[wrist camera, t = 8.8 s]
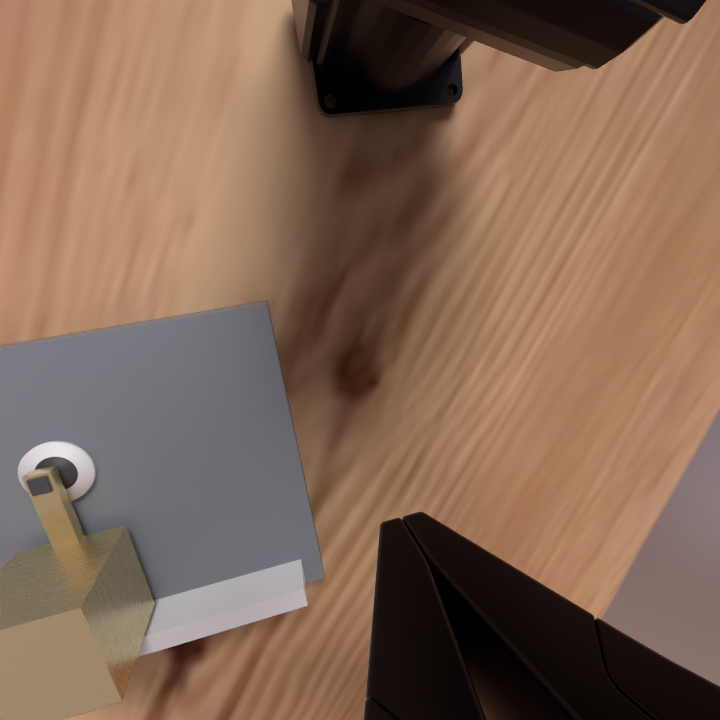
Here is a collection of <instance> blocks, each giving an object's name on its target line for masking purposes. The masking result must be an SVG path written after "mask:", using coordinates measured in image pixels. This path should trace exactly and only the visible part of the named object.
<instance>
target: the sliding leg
mask: <svg viewBox="0 0 720 720" xmlns="http://www.w3.org/2000/svg"><path fill="white" fill-rule="evenodd" d="M22 480H23V482H24V484H25V486H26V489H27V491H28V493H29V495H30V498H31V500H32V502H33V504H34V507H35V509H36V511H37V513H38V516H39V518H40V520H41V522H42V525H43V527H44V529H45V531H46V534H47V536H48V538H49V540H50V543H51V544H47V545H43V546H39V547H35V548H31V549H27V550H23V551H19V552H16V553H15V554H14V555H13V556H12V558H11V559H10V560H9V561H8V562H7V563H6V565H5V566H4V567H3V568H2V569H1V570H0V720H64V719H67V718H71V717H74V716H77V715H80V714H83V713H86V712H89V711H93V710H96V709H99V708H102V707H105V706H108V705H111V704H115V703H118V702H121V701H122V700H123V697H124V694H125V691H126V688H127V685H128V682H129V679H130V676H131V673H132V670H133V667H134V664H135V661H136V658H137V655H138V652H139V649H140V646H141V643H142V640H143V637H144V634H145V631H146V628H147V625H148V622H149V619H150V616H151V613H152V610H153V607H154V604H155V602H154V600H153V597H152V594H151V592H150V589H149V586H148V584H147V581H146V578H145V575H144V573H143V570H142V567H141V565H140V562H139V559H138V557H137V554H136V551H135V549H134V546H133V543H132V541H131V538H130V535H129V533H128V530H127V527H126V525H124V526H120V527H116V528H112V529H108V530H104V531H99V532H95V533H91V534H87V535H84V533H83V531H82V528H81V526H80V523H79V521H78V518H77V516H76V514H75V511H74V509H73V506H72V504H71V501H70V499H69V497H68V494H67V492H66V489H65V487H64V484H63V482H62V480H61V477H60V475H59V472H58V470H57V467H56V466H51V467H47V468H42V469H38V470H33V471H29V472H28V473H27V474H26V475H24V476H23V477H22Z"/></svg>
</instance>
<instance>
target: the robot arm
mask: <svg viewBox="0 0 720 720" xmlns="http://www.w3.org/2000/svg"><path fill="white" fill-rule="evenodd" d="M705 1H706V0H292V6H293V13H294V19H295V25H296V32H297V38H298V44H299V50H300V56H301V57H302V58H303V59H304V60H305V61H306V62H311V67H312V74H313V80H314V87H315V93H316V100H317V106H318V109H319V111H320V112H321V114H322V115H324V116H325V117H330V118H331V117H342V116H352V115H363V114H373V113H384V112H394V111H404V110H415V109H425V108H436V107H446V106H451V105H454V104H455V103H456V102H457V101H458V100H459V99H460V98H461V96H462V91H463V86H462V70H461V54H462V53H463V52H464V51H465V50H466V49H467V48H468V47H469V46H470V45H471V44H472V42H473V41H477V42H479V43H482V44H485V45H487V46H490V47H492V48H495V49H498V50H500V51H503V52H505V53H508V54H511V55H513V56H516V57H519V58H521V59H524V60H526V61H529V62H532V63H534V64H537V65H540V66H542V67H545V68H547V69H550V70H553V71H555V72H556V71H563V70H570V69H577V68H580V67H582V66H586V67H589V68H591V69H597V68H599V67H601V66H602V65H604V64H606V63H607V62H609V61H610V60H612V59H613V58H615V57H616V56H618V55H620V54H621V53H623V52H624V51H625V50H627V49H628V48H629V47H631V46H632V45H633V44H635V43H636V42H637V41H638V40H639V39H640V38H641V37H643V36H644V35H645V34H646V33H647V32H648V31H649V30H651V29H652V28H653V27H654V26H655V25H656V24H657V23H658V22H660V21H661V20H662V19H663V18H664V17H666V18H668V19H671V20H673V21H675V22H677V23H679V24H684V23H687V22H688V21H689V20H691V19H692V18H693V17H694V16H695V14H696V13H697V12H698V11H699V9H700V8H701V7H702V5H703V4H704V3H705ZM447 87H450V88H451V89H452V90H453V92H454V95H453V97H451V96H449V95H448V93H447ZM326 98H331V99H332V100H333V101H334V103H335V106H334V107H332V108H329V107H327V106H326V105H325V103H324V99H326ZM366 696H367V700H366V702H365V714H364V720H720V686H717V685H715V684H714V683H712V682H710V681H708V680H706V679H705V678H703V677H700V676H699V675H697V674H695V673H693V672H691V671H689V670H688V669H686V668H684V667H682V666H680V665H678V664H676V663H675V662H673V661H671V660H669V659H667V658H665V657H664V656H662V655H660V654H658V653H657V652H655V651H653V650H652V649H650V648H648V647H646V646H645V645H643V644H641V643H640V642H638V641H636V640H634V639H633V638H631V637H629V636H627V635H626V634H624V633H622V632H621V631H619V630H617V629H616V628H614V627H612V626H611V625H609V624H607V623H606V622H604V621H603V620H601V619H599V618H597V619H594V616H593V615H592V614H591V613H589V612H587V611H586V610H584V609H582V608H581V607H579V606H577V605H576V604H574V603H572V602H571V601H569V600H568V599H566V598H564V597H563V596H561V595H559V594H558V593H556V592H554V591H553V590H551V589H549V588H548V587H546V586H544V585H543V584H541V583H539V582H538V581H536V580H535V579H533V578H531V577H530V576H528V575H526V574H525V573H523V572H521V571H520V570H518V569H516V568H515V567H513V566H511V565H510V564H508V563H506V562H505V561H503V560H501V559H500V558H498V557H497V556H495V555H493V554H492V553H490V552H488V551H487V550H485V549H483V548H482V547H480V546H478V545H477V544H475V543H473V542H472V541H470V540H468V539H467V538H465V537H463V536H462V535H460V534H459V533H457V532H455V531H454V530H452V529H450V528H449V527H447V526H445V525H444V524H442V523H440V522H439V521H437V520H435V519H434V518H432V517H430V516H429V515H427V514H425V513H423V512H417V513H414V514H410V515H407V516H404V517H403V519H400V518H396V519H392V520H388V521H385V522H382V523H381V525H380V536H379V548H378V560H377V572H376V584H375V597H374V609H373V621H372V633H371V645H370V658H369V670H368V682H367V694H366Z"/></svg>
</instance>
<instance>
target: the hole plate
mask: <svg viewBox="0 0 720 720" xmlns="http://www.w3.org/2000/svg"><path fill="white" fill-rule="evenodd" d="M51 466H56V467H57V470H58V472H59V475H60V477H61V480H62V482H63V484H64V487H65V489H66V492H67V494H68V497H69V499H70V501H71V504H72V506H73V509H74V511H75V514H76V516H77V518H78V521H79V523H80V526H81V528H82V531H83V533H84V535H87V534H91V533H95V532H99V531H104V530H108V529H112V528H116V527H120V526H124V525H126V527H127V530H128V533H129V535H130V538H131V541H132V543H133V546H134V549H135V551H136V554H137V557H138V559H139V562H140V565H141V567H142V570H143V573H144V575H145V578H146V581H147V584H148V586H149V589H150V592H151V594H152V597H153V600H154V602H155V604H154V607H153V610H152V613H151V616H150V619H149V622H148V625H147V628H146V631H145V634H144V637H143V640H142V643H141V646H140V649H139V652H138V655H137V657H140V656H143V655H146V654H150V653H153V652H156V651H160V650H163V649H166V648H170V647H173V646H176V645H179V644H183V643H186V642H189V641H193V640H196V639H199V638H203V637H206V636H209V635H213V634H216V633H219V632H222V631H226V630H229V629H232V628H236V627H239V626H242V625H246V624H249V623H252V622H256V621H259V620H262V619H265V618H269V617H272V616H275V615H279V614H282V613H285V612H289V611H292V610H295V609H299V608H302V607H305V606H308V603H307V593H306V584H308V583H312V582H315V581H318V580H322V579H325V575H324V570H323V564H322V558H321V553H320V548H319V544H318V539H317V534H316V529H315V525H314V520H313V515H312V511H311V506H310V501H309V496H308V492H307V487H306V482H305V477H304V473H303V468H302V463H301V459H300V454H299V449H298V444H297V440H296V435H295V430H294V426H293V421H292V416H291V411H290V407H289V402H288V397H287V392H286V388H285V383H284V378H283V374H282V369H281V364H280V359H279V355H278V350H277V345H276V340H275V336H274V331H273V326H272V322H271V317H270V312H269V307H268V303H267V301H261V302H255V303H249V304H243V305H238V306H232V307H226V308H220V309H214V310H208V311H202V312H196V313H190V314H185V315H179V316H173V317H167V318H161V319H155V320H149V321H143V322H137V323H131V324H126V325H120V326H114V327H108V328H102V329H96V330H90V331H84V332H78V333H73V334H67V335H61V336H55V337H49V338H43V339H37V340H31V341H25V342H19V343H14V344H8V345H2V346H0V570H1V569H2V568H3V567H4V566H5V565H6V563H7V562H8V561H9V560H10V559H11V558H12V556H13V555H14V554H15V553H16V552H19V551H23V550H27V549H31V548H35V547H39V546H43V545H47V544H51V543H50V540H49V538H48V536H47V534H46V531H45V529H44V527H43V525H42V522H41V520H40V518H39V516H38V513H37V511H36V509H35V507H34V504H33V502H32V500H31V498H30V495H29V493H28V491H27V489H26V486H25V484H24V482H23V480H22V477H23V476H24V475H26V474H27V473H28V472H29V471H33V470H38V469H42V468H47V467H51Z"/></svg>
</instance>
